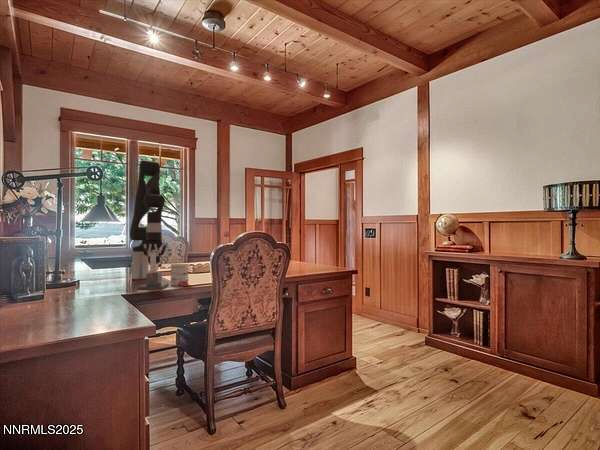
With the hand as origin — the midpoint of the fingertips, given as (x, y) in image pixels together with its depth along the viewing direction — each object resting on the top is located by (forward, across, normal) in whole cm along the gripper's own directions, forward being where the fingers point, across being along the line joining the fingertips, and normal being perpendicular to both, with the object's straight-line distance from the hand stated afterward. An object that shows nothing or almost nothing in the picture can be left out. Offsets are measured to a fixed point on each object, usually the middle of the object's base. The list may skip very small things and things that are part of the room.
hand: (153, 263), depth 187 cm
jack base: (+13, 0, 0) cm, 13 cm away
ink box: (+13, -11, -9) cm, 20 cm away
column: (+9, 0, 0) cm, 9 cm away
